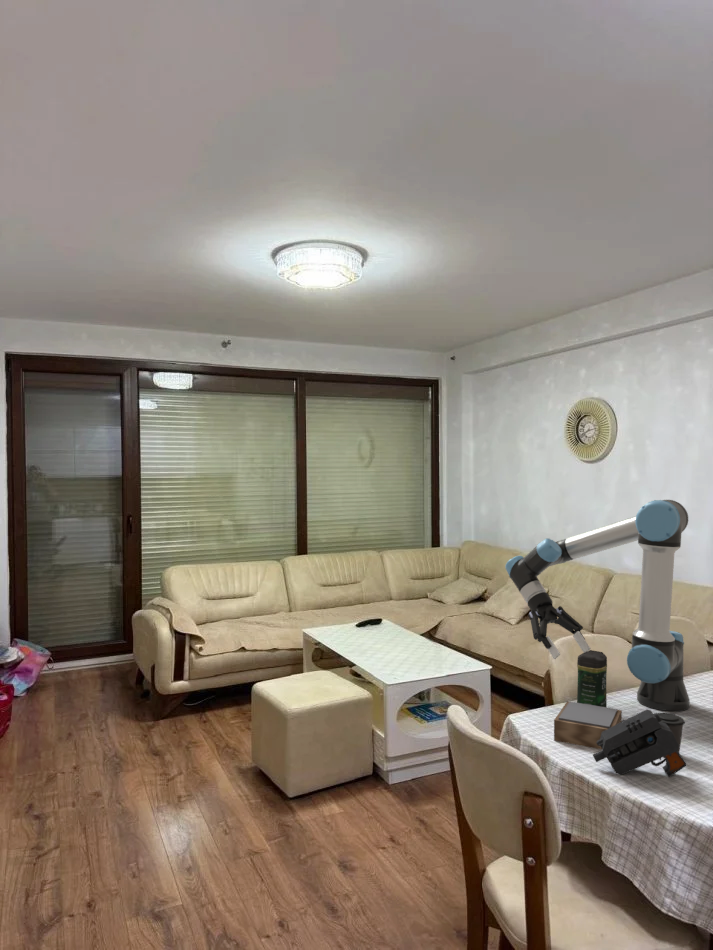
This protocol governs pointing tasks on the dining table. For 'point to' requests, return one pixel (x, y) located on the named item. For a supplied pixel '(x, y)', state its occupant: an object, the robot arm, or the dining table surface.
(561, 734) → the wooden block
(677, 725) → the coffee cup
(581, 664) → the coffee jar
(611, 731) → the grey toy blaster gun
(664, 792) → the dining table surface
